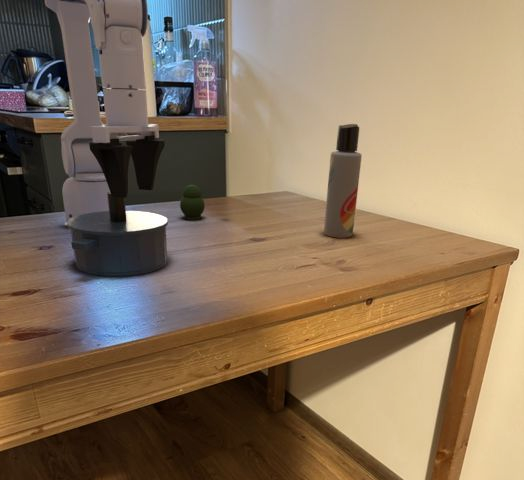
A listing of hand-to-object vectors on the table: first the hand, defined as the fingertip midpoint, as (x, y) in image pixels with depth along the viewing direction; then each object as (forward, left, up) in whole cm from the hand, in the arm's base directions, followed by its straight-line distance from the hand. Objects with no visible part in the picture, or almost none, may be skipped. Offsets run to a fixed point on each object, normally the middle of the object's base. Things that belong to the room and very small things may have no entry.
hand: (133, 193), depth 74 cm
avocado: (-7, +32, -10) cm, 35 cm away
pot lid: (-2, -2, -4) cm, 5 cm away
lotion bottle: (+25, +32, -11) cm, 42 cm away
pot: (-2, -2, -10) cm, 11 cm away
